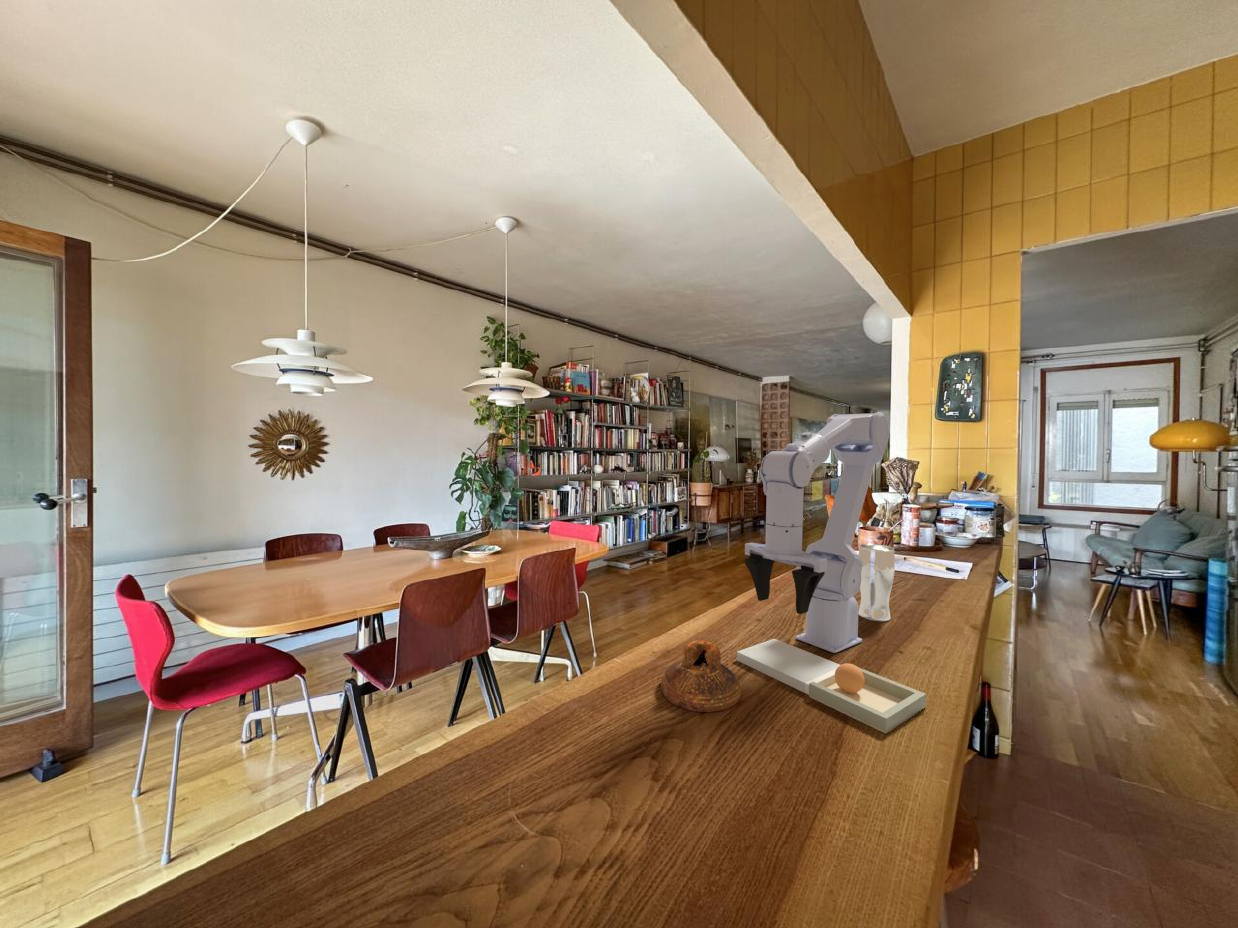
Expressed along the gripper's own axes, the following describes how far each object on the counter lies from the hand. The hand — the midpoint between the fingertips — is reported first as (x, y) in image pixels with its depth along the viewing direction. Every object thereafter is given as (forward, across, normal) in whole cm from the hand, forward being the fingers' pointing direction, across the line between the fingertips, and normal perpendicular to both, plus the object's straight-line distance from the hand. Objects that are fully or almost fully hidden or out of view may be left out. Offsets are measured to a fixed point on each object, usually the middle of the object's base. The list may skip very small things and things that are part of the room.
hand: (781, 605), depth 82 cm
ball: (+8, +12, 0) cm, 14 cm away
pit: (+10, +14, 0) cm, 18 cm away
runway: (+10, +2, 0) cm, 10 cm away
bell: (+10, -1, -18) cm, 20 cm away
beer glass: (+10, -3, +36) cm, 38 cm away
